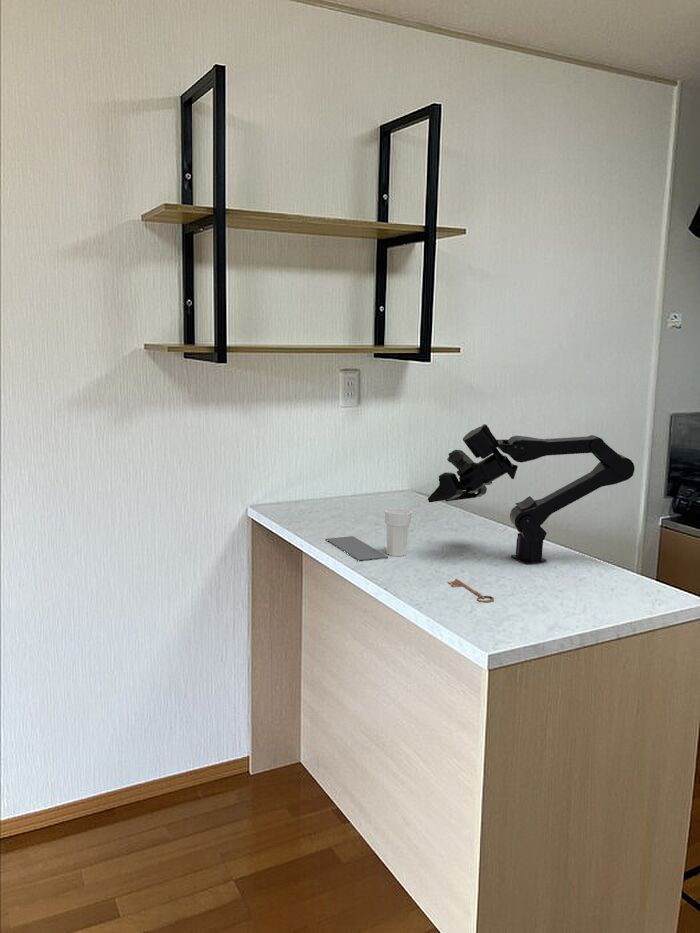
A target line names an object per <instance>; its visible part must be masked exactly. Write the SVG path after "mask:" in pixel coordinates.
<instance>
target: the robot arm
mask: <svg viewBox="0 0 700 933" xmlns="http://www.w3.org/2000/svg"><path fill="white" fill-rule="evenodd" d="M496 438H497V437H495V436H494V434H493V432H491V430H490V427H489V426H488V425H487V424H485V423H483V425H481V426H479V427H477V428H475V429H472V430H470V431H469V432H468V433H466V434H465V436H463V438H462V441H463V443H464V444H465V445H466V447H468V449H469V451H470V452H471V453H472V455H473V456H474V457H475V459H479V458H481V459H482V460H480V461H479V462H474V460H473V459H472V458H470V457H469V455H467V454H466V453H465V452H464V451H463V450H461V449H454V450H452V452H449V453H448V457H447V461H448V463H450V464H452V465H453V466H454V467H455V468H456V469H457V471H456V473H454V472H451V471H450V472H449V471H448V472H445V471H444V472H443V473H441V474H439V475H438V482H439V484H438V487H437V488H436V489H435V490H434V491H433V492H432V493H431V494H430V495H429V497H427V502H428V503H435V502H443V501H445V502H453V501H459V500H468V499H476V498H480V497H482V496H483V495H486V493H487V489H488V488H487V486H490V485H492V484H493V482H494V481H495V480H497V479H499V478H500V477H502V476H504V475H506V474H508V476H509V477H510V479H511V480H514V479H515V477H516V474H517V471H518V467H519V466H518V465H517V464H514V463H512V462H511V460H510V459H509V458H508V456H509V457H510V458H511V459H512V460H513V461H515V462H517V463H525V462H530V461H534V460H538V459H540V458H543V457H547V456H561V455H562V456H563V455H575V454H592V455H593V456H594V457H595V458H596V459H597V460H598V461H599V462H598V463H597V464H596V466H595V467H594V468H592V469H591V471H590V472H588V473H586V474H584V475H583V476H580V477H578V478H577V479H575V480H573V481H572V482H570V483H567V484H566V485H565V486H563V487H561V488H558V489H557V490H555V491H554V492H552V493H550V494H548V495H546V496H544V497H542V498H540V499H534V498H533V497H532V496H528V497H526V498H525V499H523V500H522V501H520V502H516V503H515V506H514V507H513V508H512V509H511V510H510V513H509V520H510V522H511V523H512V524H513V526H514V527H515V528H516V529H517V532H518V533H517V538H516V542H515V543H516V545H515V554H511V556H510V557H511V559H513V560H517V561H518V562H521V563H523V564H526V565H529V564H537V563H538V564H540V563H546V562H547V559H545V558H543V549H544V548H543V546H544V540H545V538H546V536H547V534H548V532H546V530H545V529H544V528H543V527H542V525H543V524H544V523H545V522H546V521H547V519H549V517H550V516H551V515H552V514H555V513H556V512H558V511H560V510H562V509H564V508H565V507H567V506H569V505H571V504H573V503H575V502H576V501H579V500H580V499H582V498H583V497H585V496H588V495H589V494H591V493H592V492H594V491H597V490H599V489H600V488H602V487H606V486H607V487H608V486H614V485H617V484H620V483H622V482H626V481H628V480H630V479H631V478H632V477H633V476H634V472H635V464H634V462H633V460H632V459H630V458H628V457H626V456H624V455H622V454H621V453H618V452H617V451H615V450H614V449H613V448H612V447H610V446H609V445H608V443H607V442H605V440H604V439H603V438H601V437H599V436H597V435H594V434H593V435H592V434H591V435H588V436H573V437H558V438H537V437H531V436H525V435H524V436H523V435H514V436H513V435H512V436H511V437H509V438H508V439H496ZM502 453H503V454H502ZM504 454H505V455H504ZM457 476H459V477H457Z"/></svg>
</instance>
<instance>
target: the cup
mask: <svg viewBox="0 0 700 933" xmlns="http://www.w3.org/2000/svg"><path fill="white" fill-rule="evenodd" d="M412 512H413V511H412V510H410V509H407V508H401V507H390V508H387V509H385V510H384V523H385V525H386V555H388V554H389V555H388V556H391V555H392V556H391V557H404V556H406V555H407V546H408V538H409V530H410V529H409V528H410V525H411V522H412ZM403 555H404V556H403Z"/></svg>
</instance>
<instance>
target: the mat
mask: <svg viewBox="0 0 700 933" xmlns="http://www.w3.org/2000/svg"><path fill="white" fill-rule="evenodd" d="M326 540H328V541H329V542H330V543H329V542H328V541H327V542H328V543H329V544H331V543H332V544H331V545H333V546H334V545H335V546H334V547H336V546H337V547H338V548H337V547H336V548H337V549H339V548H340V549H342V550H343V551H342V550H341V551H342V552H344V551H345V552H346V553H345V552H344V553H345V554H347V553H348V554H349V555H348V554H347V555H348V556H350V555H351V556H352V558H353V557H354V558H353V559H355V558H356V559H357V560H356V559H355V560H356V561H358V560H359V561H358V562H361V561H360V560H366V561H371V560H370V559H376V560H381V559H380V558H385V559H389V555H387V554H384V553H383V552H381V551H379V550H378V549H375V547H373V546H370V545H369V544H367V543H366V542H364V541H362V540H361V539H358V538H357V537H355V536H353V535H350V536H337V537H328V538H325V541H326ZM340 549H339V550H340ZM351 556H350V557H351Z"/></svg>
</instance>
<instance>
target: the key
mask: <svg viewBox="0 0 700 933" xmlns="http://www.w3.org/2000/svg"><path fill="white" fill-rule="evenodd" d="M446 583H447V584H448V585H449V586H450V587H451V588H464V589H466V590H468V591H469V592H470V593H472V595H475V596H476V597H477V598H476V602H478V603H483V604H485V603H486V604H487V603H488V604H489V603H492V602H493V601H494V600H495V598H494V597H493V596H491V595H482V594H481V593H480V592H478V591H477V590H474V589H473V588H472V587H470V586H469V585H467V584H466V583H464V582H463V581H461V580H459V579H458V578H455V579H454V580H452V581H448V582H446ZM485 599H486V600H485Z"/></svg>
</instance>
